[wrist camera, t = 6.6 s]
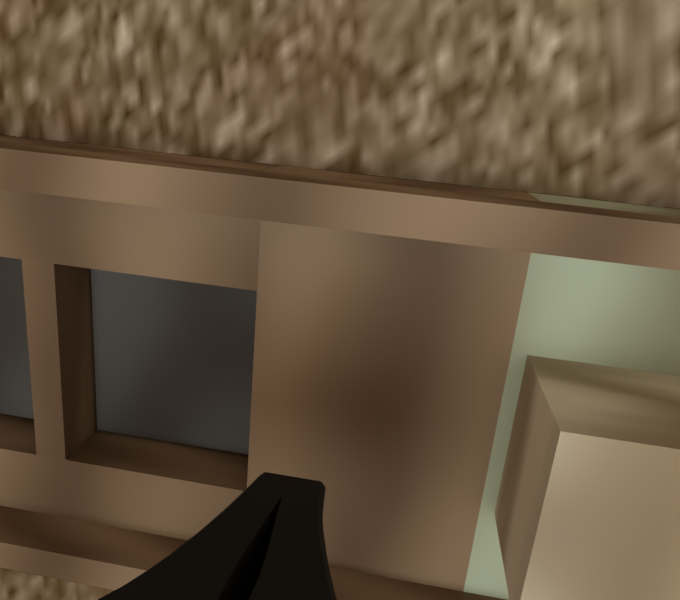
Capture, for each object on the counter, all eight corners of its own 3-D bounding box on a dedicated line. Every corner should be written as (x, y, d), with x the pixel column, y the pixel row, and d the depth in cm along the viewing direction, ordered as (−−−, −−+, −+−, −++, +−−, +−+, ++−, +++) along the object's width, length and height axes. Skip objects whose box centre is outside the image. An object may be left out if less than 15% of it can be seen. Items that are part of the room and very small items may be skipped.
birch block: (494, 513, 17) (513, 626, 13) (527, 354, 15) (560, 431, 11) (674, 543, 16) (750, 671, 12) (727, 383, 15) (831, 472, 11)
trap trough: (-93, 470, 22) (-184, 531, 19) (-148, 118, 18) (-276, 117, 15) (667, 608, 19) (717, 710, 16) (798, 221, 15) (902, 249, 12)
